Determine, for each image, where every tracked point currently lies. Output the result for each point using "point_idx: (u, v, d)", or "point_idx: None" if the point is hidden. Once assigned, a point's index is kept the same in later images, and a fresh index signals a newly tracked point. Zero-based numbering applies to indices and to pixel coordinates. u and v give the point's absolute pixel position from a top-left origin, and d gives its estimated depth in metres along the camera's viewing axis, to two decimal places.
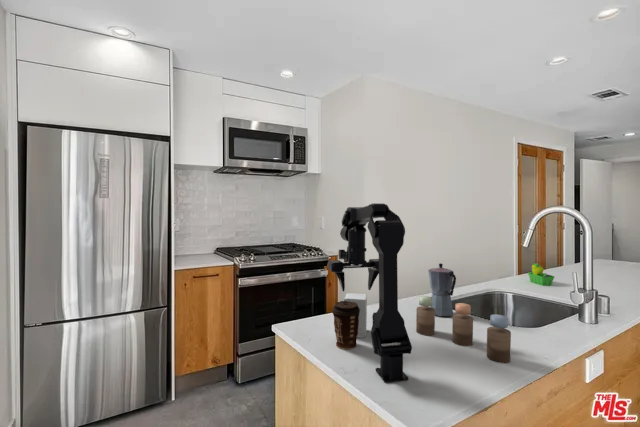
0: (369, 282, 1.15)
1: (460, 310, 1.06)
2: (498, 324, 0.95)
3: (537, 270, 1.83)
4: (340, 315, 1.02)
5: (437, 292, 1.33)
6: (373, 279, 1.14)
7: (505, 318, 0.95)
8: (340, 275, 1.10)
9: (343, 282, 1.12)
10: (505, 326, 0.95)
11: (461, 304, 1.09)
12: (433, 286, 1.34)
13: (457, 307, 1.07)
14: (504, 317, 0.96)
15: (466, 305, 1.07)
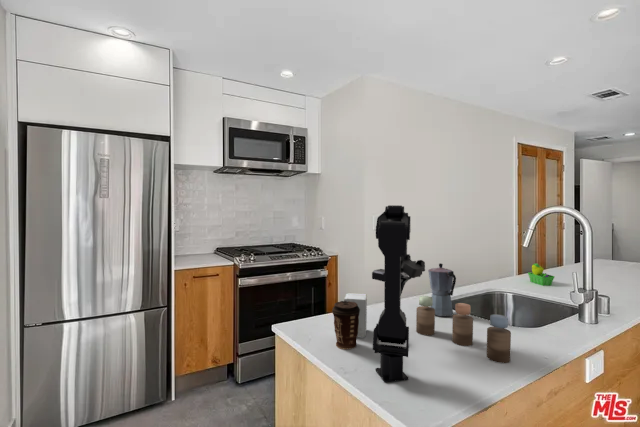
0: None
1: (460, 310, 1.06)
2: (498, 324, 0.95)
3: (537, 270, 1.83)
4: (340, 315, 1.02)
5: (437, 292, 1.33)
6: None
7: (505, 318, 0.95)
8: None
9: None
10: (505, 326, 0.95)
11: (461, 304, 1.09)
12: (433, 286, 1.34)
13: (457, 307, 1.07)
14: (504, 317, 0.96)
15: (466, 305, 1.07)
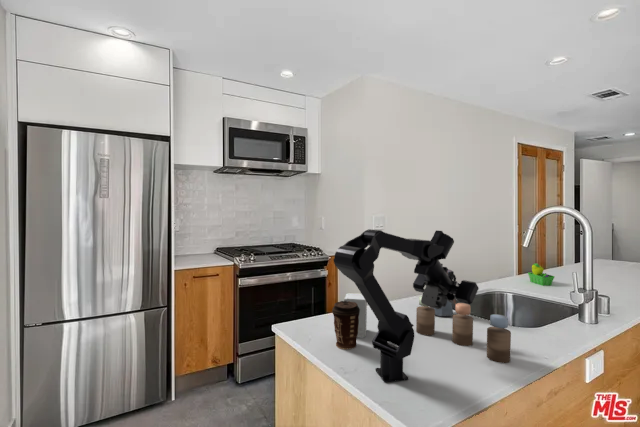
0: None
1: (460, 310, 1.06)
2: (498, 324, 0.95)
3: (537, 270, 1.83)
4: (340, 315, 1.02)
5: None
6: None
7: (505, 318, 0.95)
8: None
9: None
10: (505, 326, 0.95)
11: (461, 304, 1.09)
12: None
13: (457, 307, 1.07)
14: (504, 317, 0.96)
15: (466, 305, 1.07)
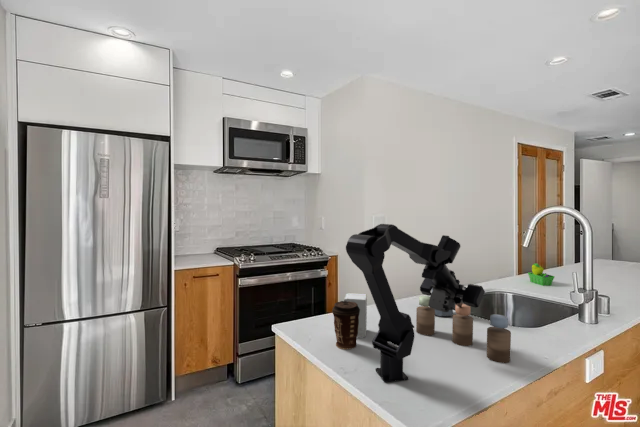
0: None
1: (460, 310, 1.06)
2: (498, 324, 0.95)
3: (537, 270, 1.83)
4: (340, 315, 1.02)
5: None
6: None
7: (505, 318, 0.95)
8: None
9: None
10: (505, 326, 0.95)
11: None
12: None
13: (457, 308, 1.07)
14: (504, 317, 0.96)
15: (466, 306, 1.07)
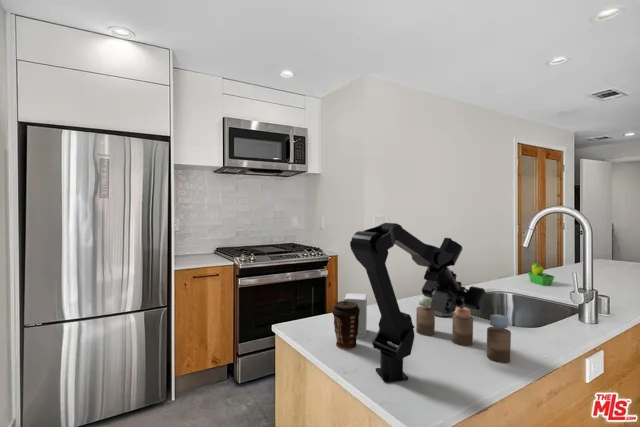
0: None
1: (460, 314, 1.06)
2: (498, 324, 0.95)
3: (537, 270, 1.83)
4: (340, 315, 1.02)
5: None
6: None
7: (505, 318, 0.95)
8: None
9: None
10: (505, 326, 0.95)
11: None
12: None
13: (457, 311, 1.07)
14: (504, 317, 0.96)
15: (466, 309, 1.07)
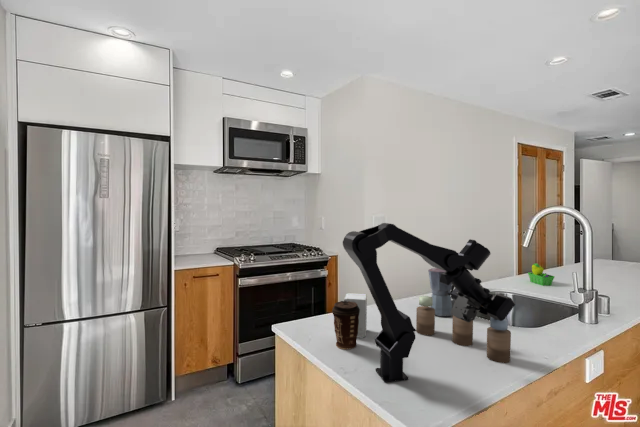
0: None
1: None
2: (498, 326, 0.95)
3: (537, 270, 1.83)
4: (340, 315, 1.02)
5: (437, 292, 1.33)
6: None
7: (505, 320, 0.95)
8: None
9: None
10: (505, 328, 0.95)
11: None
12: (433, 286, 1.34)
13: None
14: (504, 319, 0.96)
15: None
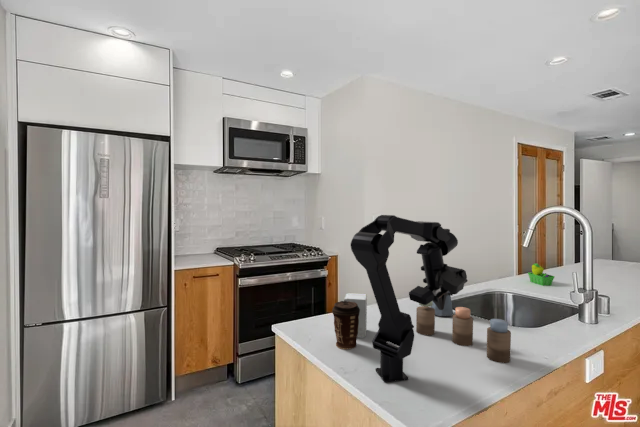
0: None
1: (460, 314, 1.06)
2: (498, 328, 0.95)
3: (537, 270, 1.83)
4: (340, 315, 1.02)
5: None
6: None
7: (505, 322, 0.95)
8: None
9: None
10: (505, 330, 0.95)
11: (461, 308, 1.09)
12: None
13: (457, 311, 1.07)
14: (504, 321, 0.96)
15: (466, 309, 1.07)
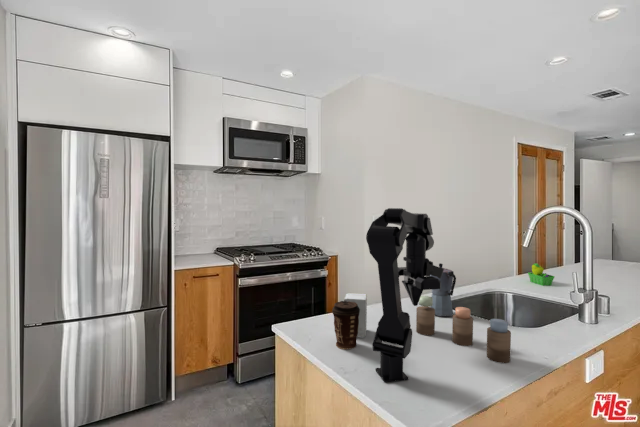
0: None
1: (460, 314, 1.06)
2: (498, 328, 0.95)
3: (537, 270, 1.83)
4: (340, 315, 1.02)
5: (437, 292, 1.33)
6: (410, 293, 1.02)
7: (505, 322, 0.95)
8: (404, 284, 1.05)
9: (409, 294, 1.04)
10: (505, 330, 0.95)
11: (461, 308, 1.09)
12: None
13: (457, 311, 1.07)
14: (504, 321, 0.96)
15: (466, 309, 1.07)
